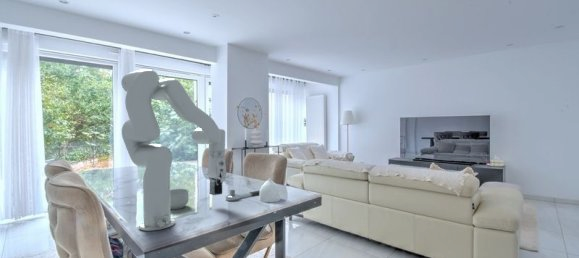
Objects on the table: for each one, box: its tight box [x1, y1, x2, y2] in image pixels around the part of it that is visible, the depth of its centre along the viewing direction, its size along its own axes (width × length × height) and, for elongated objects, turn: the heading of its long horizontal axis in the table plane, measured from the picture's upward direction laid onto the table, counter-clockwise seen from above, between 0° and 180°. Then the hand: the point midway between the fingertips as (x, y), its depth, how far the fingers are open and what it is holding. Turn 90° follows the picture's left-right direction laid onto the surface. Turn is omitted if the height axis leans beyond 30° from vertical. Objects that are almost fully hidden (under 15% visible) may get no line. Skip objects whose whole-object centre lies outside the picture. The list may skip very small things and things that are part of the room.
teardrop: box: [258, 177, 281, 203], centre depth 147 cm, size 11×11×12 cm
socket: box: [209, 179, 223, 196], centre depth 133 cm, size 4×4×7 cm
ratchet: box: [225, 189, 260, 202], centre depth 153 cm, size 7×23×5 cm, turn 132°
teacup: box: [170, 188, 189, 210], centre depth 134 cm, size 14×11×8 cm
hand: (215, 192), depth 133 cm, fingers closed on socket, 4 cm apart
